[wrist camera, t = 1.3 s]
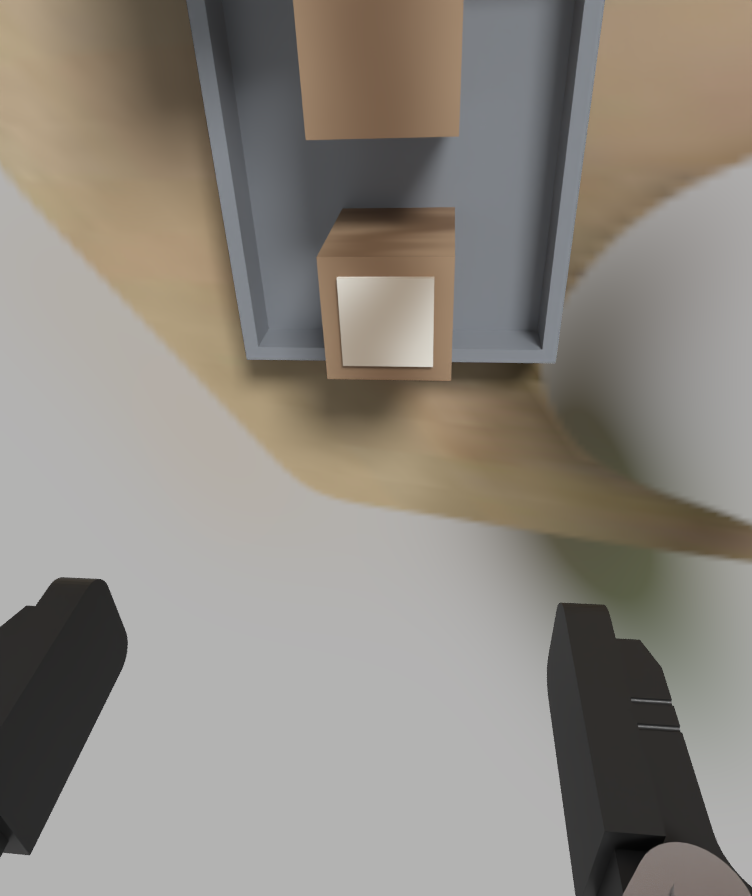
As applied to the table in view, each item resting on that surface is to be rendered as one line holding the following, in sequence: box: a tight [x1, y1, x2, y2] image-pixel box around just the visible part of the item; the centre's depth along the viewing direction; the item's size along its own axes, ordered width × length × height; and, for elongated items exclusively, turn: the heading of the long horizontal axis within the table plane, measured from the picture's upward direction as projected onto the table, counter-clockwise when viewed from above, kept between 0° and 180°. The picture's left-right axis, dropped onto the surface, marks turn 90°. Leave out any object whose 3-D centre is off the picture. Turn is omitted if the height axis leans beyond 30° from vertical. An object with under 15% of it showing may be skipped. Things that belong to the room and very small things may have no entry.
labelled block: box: [316, 207, 455, 381], centre depth 24 cm, size 4×4×6 cm
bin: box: [186, 0, 605, 363], centre depth 24 cm, size 13×15×2 cm
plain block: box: [293, 0, 464, 140], centre depth 20 cm, size 4×4×6 cm
